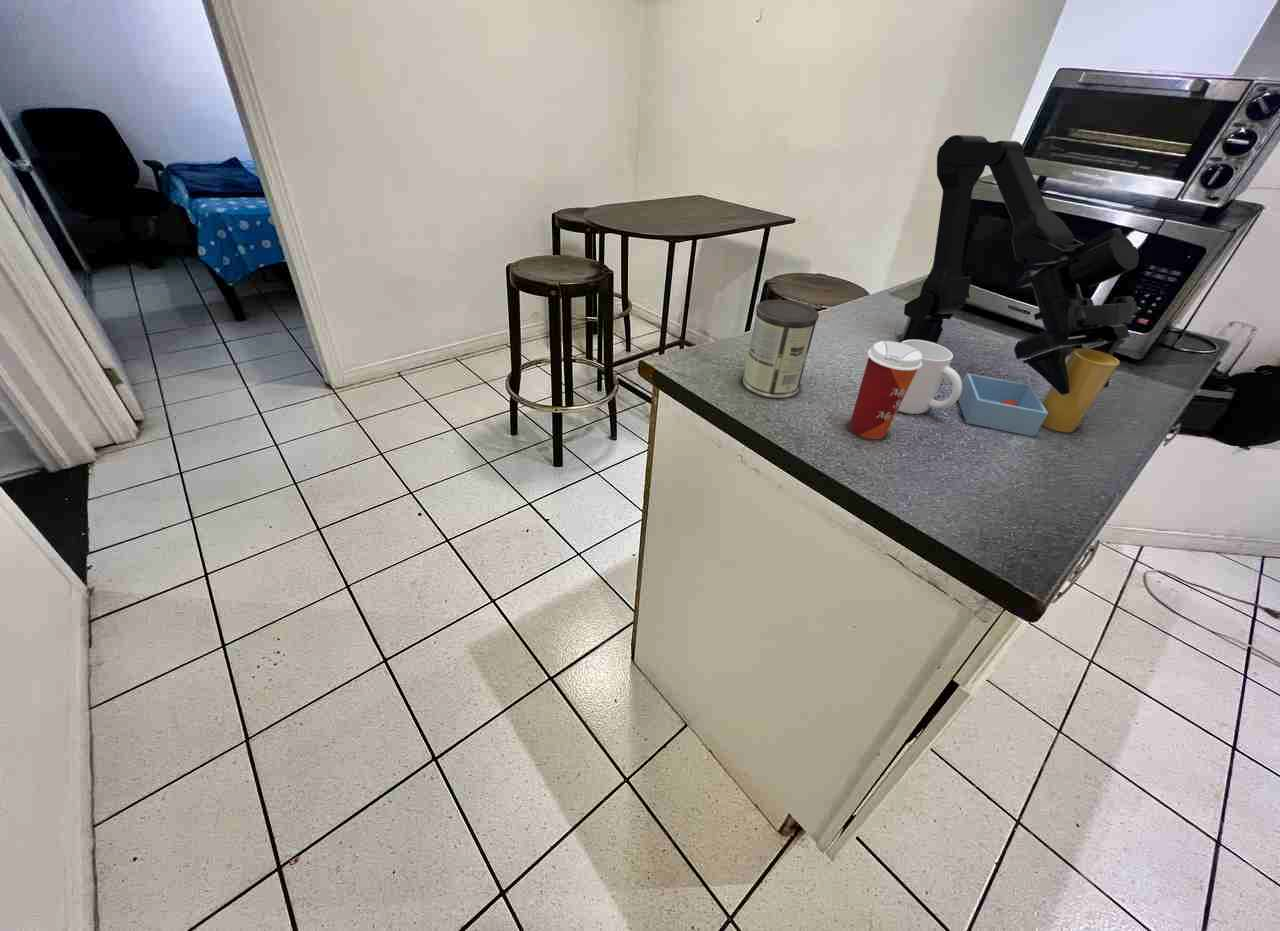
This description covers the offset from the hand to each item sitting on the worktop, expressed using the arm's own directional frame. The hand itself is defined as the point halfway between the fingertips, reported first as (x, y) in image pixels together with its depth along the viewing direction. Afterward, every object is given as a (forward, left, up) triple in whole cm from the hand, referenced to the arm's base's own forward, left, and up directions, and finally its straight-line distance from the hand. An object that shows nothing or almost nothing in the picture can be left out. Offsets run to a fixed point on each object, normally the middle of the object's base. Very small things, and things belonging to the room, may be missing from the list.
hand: (1085, 390), depth 86 cm
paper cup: (-32, -15, -7) cm, 36 cm away
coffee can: (-49, -6, -7) cm, 50 cm away
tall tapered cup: (-1, +1, -7) cm, 7 cm away
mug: (-24, -4, -7) cm, 26 cm away
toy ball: (-9, -1, -5) cm, 11 cm away
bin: (-11, 0, -7) cm, 13 cm away
